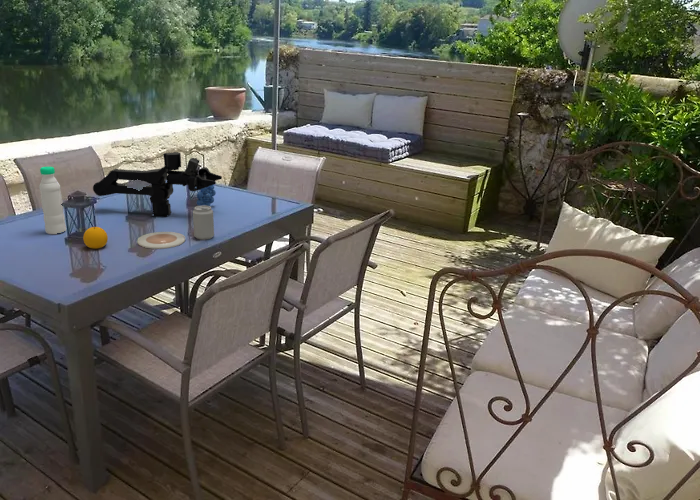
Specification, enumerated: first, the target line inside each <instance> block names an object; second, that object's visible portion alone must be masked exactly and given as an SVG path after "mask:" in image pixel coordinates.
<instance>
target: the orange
mask: <svg viewBox="0 0 700 500" xmlns="http://www.w3.org/2000/svg"><path fill="white" fill-rule="evenodd" d="M82 238H83V243H84V245H85V246H86V247H88V248H90V249H95V250H97V249H102V248H103V247H104V246H105V245H107V244H108V238H109V236H108V233H107V232H106V230H104V229H103V228H102V227H99V226H91V227H89V228H88V229H86V230H85V232H84V233H83V237H82Z"/></svg>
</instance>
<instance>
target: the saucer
mask: <svg viewBox="0 0 700 500" xmlns="http://www.w3.org/2000/svg"><path fill="white" fill-rule="evenodd" d="M185 242H186V236H185V235H184V234H182V233H179V232H174V231H156V232H150V233H147V234H143V235H141V236H140V237H138V238H137V242H136V243H137V245H138V246H140V247H141V246H142V248H144V247H145V249H152V250H154V249H155V250H161V249H163V250H164V249H172V248H175V247H178V246H180V245H183V244H184V243H185ZM171 247H172V248H171Z"/></svg>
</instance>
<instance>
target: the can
mask: <svg viewBox="0 0 700 500" xmlns="http://www.w3.org/2000/svg"><path fill="white" fill-rule="evenodd" d="M193 208H194V210H193V211H192V221H193V222H192V224H193V236H194V238H196V239H197V240H201V241H204V240H205V241H206V240H210V239H212V238H213V237H214V236H215V226H214V225H215V224H214V223H215V222H214V210H213V209H212V207H211V205H210V206H205V205H202V206H198V205H197V206H195V207H193Z"/></svg>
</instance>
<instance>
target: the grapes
mask: <svg viewBox="0 0 700 500" xmlns="http://www.w3.org/2000/svg"><path fill="white" fill-rule="evenodd" d="M216 193H217V192H216V189H215V184H214V185H211V186H208V187H206V188H203V189H200V190H199V191H198V192H197V193H196V198H197V200H196V205H197V206H202V205H205V206H210V207H211V204H213V203H214V201H215V198H214V196H215V195H216Z"/></svg>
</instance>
